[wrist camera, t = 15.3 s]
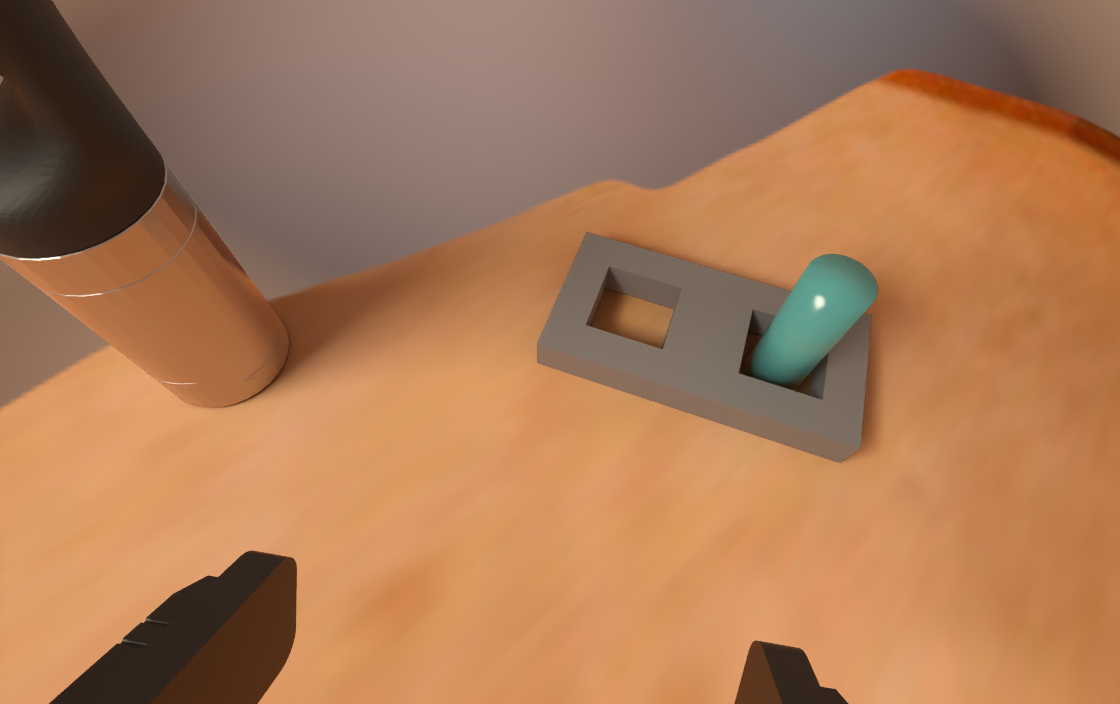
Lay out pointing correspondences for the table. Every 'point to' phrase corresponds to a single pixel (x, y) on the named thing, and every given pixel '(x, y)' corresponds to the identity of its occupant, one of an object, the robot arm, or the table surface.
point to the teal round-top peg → (812, 320)
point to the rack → (703, 349)
